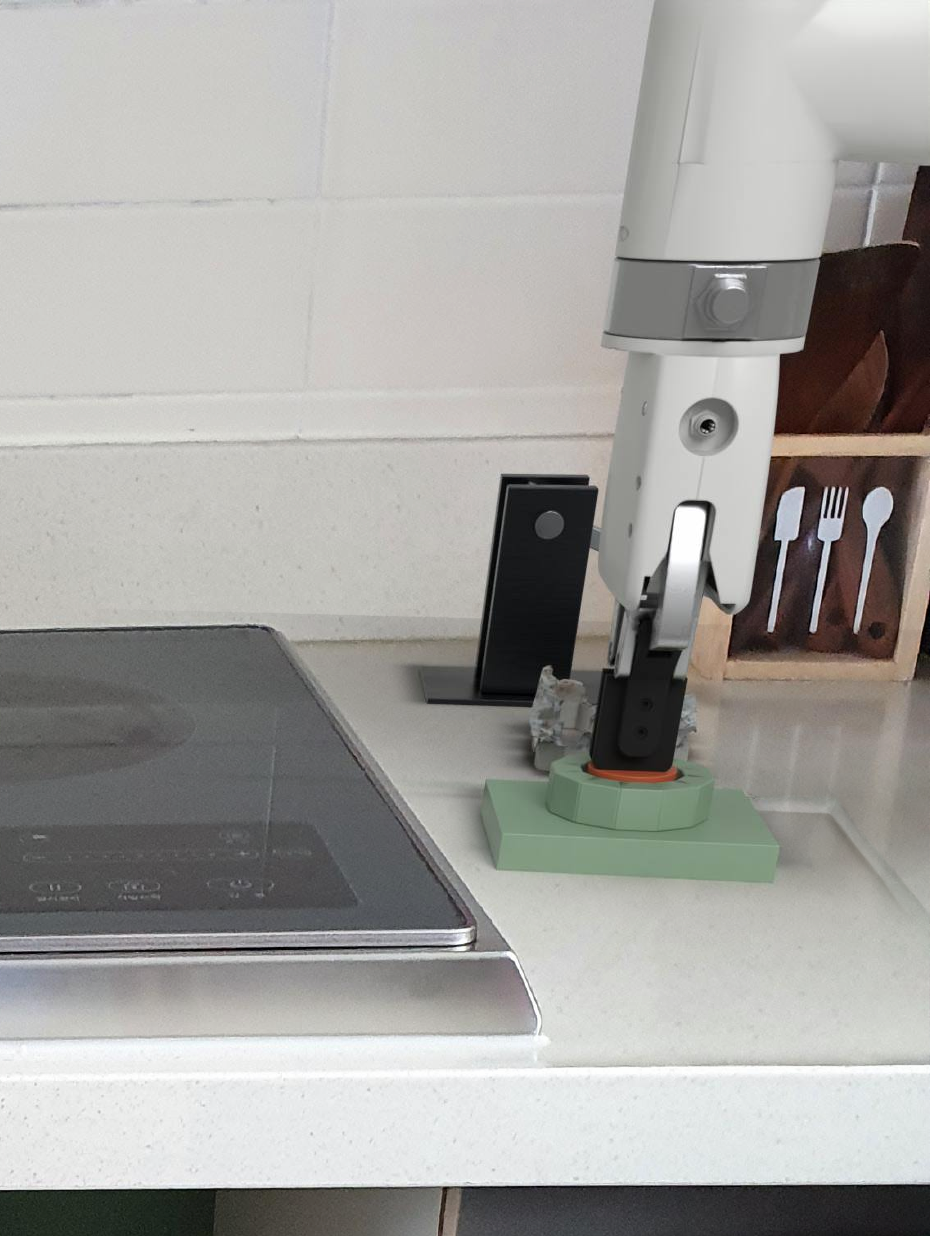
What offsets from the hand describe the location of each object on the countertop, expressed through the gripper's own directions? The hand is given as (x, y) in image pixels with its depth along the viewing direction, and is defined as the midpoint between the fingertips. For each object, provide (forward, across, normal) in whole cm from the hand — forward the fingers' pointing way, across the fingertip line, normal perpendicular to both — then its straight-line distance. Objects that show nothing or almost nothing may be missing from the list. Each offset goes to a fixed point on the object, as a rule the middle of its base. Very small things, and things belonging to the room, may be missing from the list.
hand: (629, 765), depth 98 cm
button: (+2, 0, 0) cm, 2 cm away
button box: (+4, 0, 0) cm, 4 cm away
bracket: (+4, +27, +2) cm, 27 cm away
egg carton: (+4, +14, -1) cm, 14 cm away
